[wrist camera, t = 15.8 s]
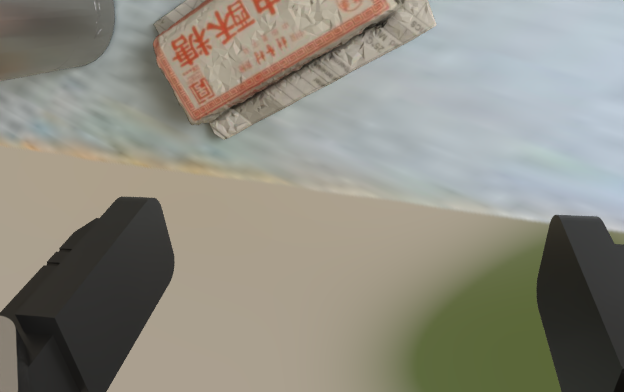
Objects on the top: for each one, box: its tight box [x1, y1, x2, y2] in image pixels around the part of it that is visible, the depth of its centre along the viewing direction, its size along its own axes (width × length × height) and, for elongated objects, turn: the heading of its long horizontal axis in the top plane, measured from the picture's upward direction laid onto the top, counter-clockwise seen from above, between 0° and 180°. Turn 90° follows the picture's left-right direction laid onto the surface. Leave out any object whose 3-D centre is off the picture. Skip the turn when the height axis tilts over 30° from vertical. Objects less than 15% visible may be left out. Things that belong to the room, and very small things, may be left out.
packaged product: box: [153, 0, 436, 140], centre depth 34 cm, size 18×5×10 cm
